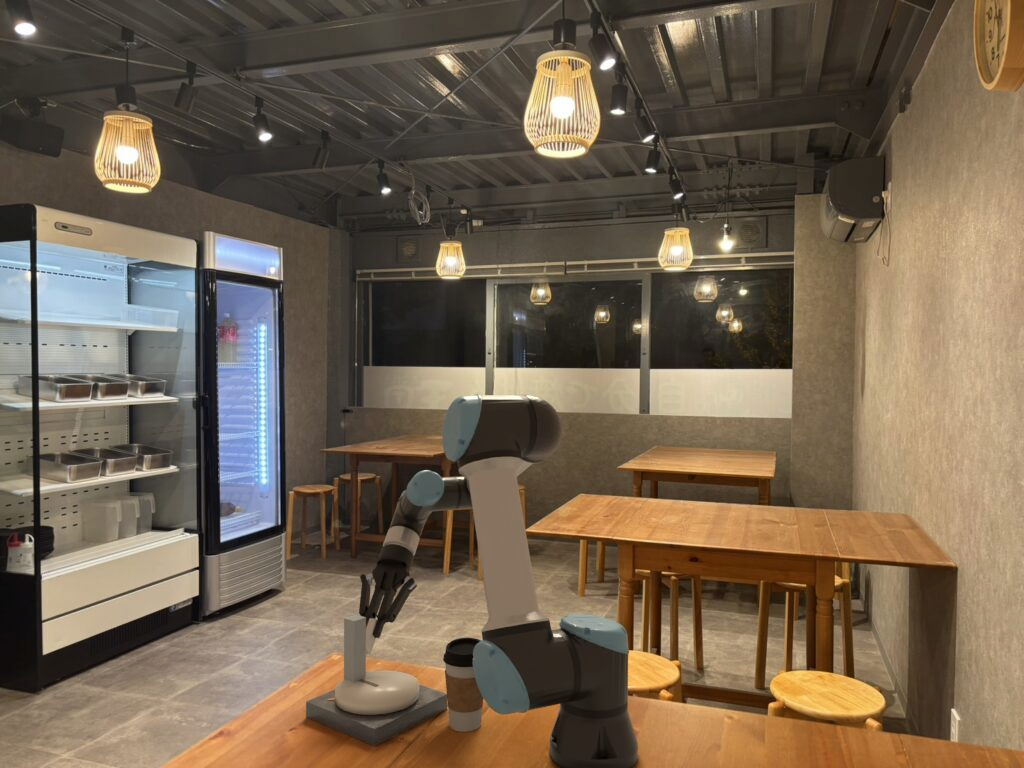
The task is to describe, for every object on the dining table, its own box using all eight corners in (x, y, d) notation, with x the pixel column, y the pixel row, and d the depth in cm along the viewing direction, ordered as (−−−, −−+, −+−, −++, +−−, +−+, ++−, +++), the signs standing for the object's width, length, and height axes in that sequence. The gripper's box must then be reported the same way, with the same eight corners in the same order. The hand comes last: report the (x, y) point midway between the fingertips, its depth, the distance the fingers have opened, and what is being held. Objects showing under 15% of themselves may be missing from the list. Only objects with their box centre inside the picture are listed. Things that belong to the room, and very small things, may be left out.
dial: (436, 693, 149) (436, 621, 149) (375, 722, 136) (375, 644, 136) (379, 674, 158) (379, 606, 158) (317, 699, 146) (317, 626, 146)
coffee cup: (490, 715, 146) (491, 637, 146) (484, 736, 138) (484, 653, 138) (447, 713, 147) (447, 636, 147) (438, 733, 139) (439, 651, 139)
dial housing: (447, 709, 149) (447, 693, 149) (374, 746, 134) (374, 728, 134) (379, 685, 161) (379, 670, 160) (306, 717, 145) (306, 700, 145)
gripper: (429, 562, 172) (399, 662, 156) (376, 559, 176) (342, 656, 160) (420, 544, 167) (389, 645, 151) (366, 540, 171) (329, 639, 155)
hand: (365, 650), depth 156 cm, fingers closed
